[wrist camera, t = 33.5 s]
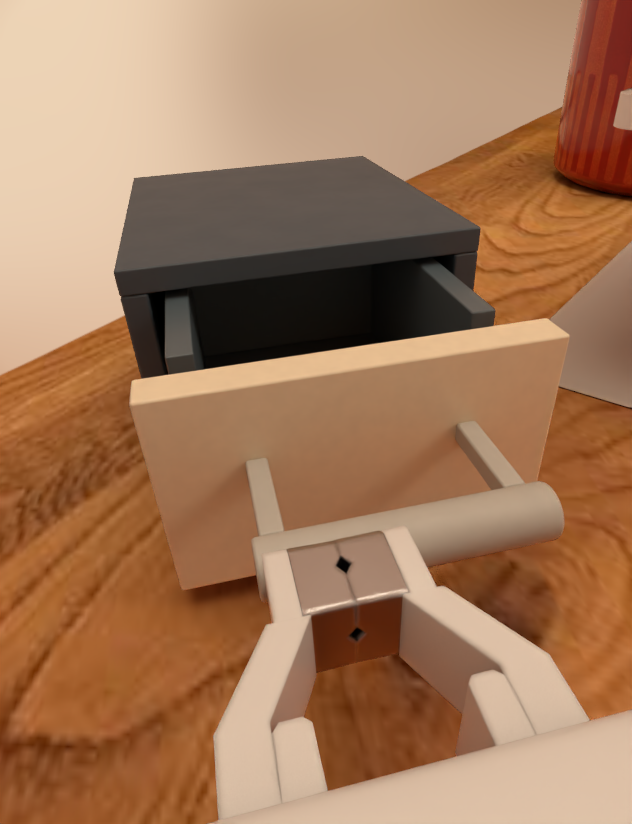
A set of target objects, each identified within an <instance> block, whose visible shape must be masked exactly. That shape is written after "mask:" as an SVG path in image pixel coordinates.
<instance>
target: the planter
mask: <svg viewBox="0 0 632 824" xmlns="http://www.w3.org/2000/svg"><path fill="white" fill-rule="evenodd" d="M629 88H632V0H581V6H580V11H579V17H578V22H577V28H576V34H575V39H574V45H573V50H572V56H571V61H570V67H569V73H568V79H567V84H566V90H565V95H564V101H563V107H562V113H561V118H560V124H559V130H558V136H557V141H556V147H555V153H554V160H553V161H554V166H555V168H556V169H557V170H558V171H559V172H560V173H561V174H562V175H563V176H565V177H566V178H568V179H569V180H571V181H573V182H575V183H577V184H579V185H582V186H584V187H588V188H591V189H595V190H599V191H603V192H608V193H613V194H619V195H625V196H632V130H626V129H620V128H616V127H614V126H613V124H614V120H615V115H616V111H617V106H618V102H619V97H620V93H621V91H624V90H626V89H629Z"/></svg>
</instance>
